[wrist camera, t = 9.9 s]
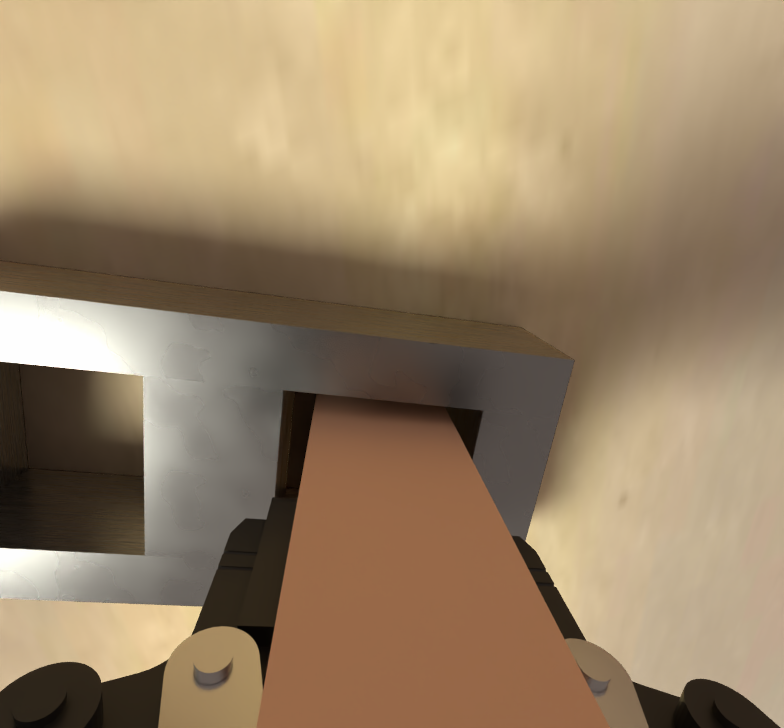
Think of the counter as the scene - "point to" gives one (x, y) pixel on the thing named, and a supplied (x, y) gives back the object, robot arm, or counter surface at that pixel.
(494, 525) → the square peg
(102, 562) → the block with square holes
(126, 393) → the counter surface
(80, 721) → the robot arm
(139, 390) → the counter surface
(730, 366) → the counter surface
